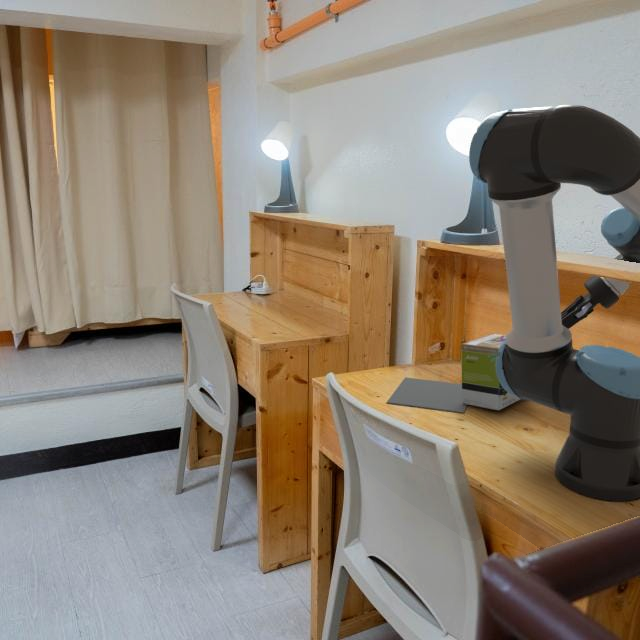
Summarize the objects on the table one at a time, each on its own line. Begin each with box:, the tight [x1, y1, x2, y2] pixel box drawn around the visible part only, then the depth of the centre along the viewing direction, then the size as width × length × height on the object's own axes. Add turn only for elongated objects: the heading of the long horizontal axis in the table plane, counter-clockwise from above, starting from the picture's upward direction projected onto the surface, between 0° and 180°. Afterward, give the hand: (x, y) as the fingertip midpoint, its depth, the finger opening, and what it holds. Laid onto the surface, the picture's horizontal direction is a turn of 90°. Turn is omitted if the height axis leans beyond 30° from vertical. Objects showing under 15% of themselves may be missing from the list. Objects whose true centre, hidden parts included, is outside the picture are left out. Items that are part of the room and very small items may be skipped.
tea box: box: [461, 333, 522, 411], centre depth 148 cm, size 15×10×15 cm
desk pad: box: [386, 377, 468, 414], centre depth 155 cm, size 20×18×1 cm
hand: (524, 352), depth 146 cm, fingers closed
